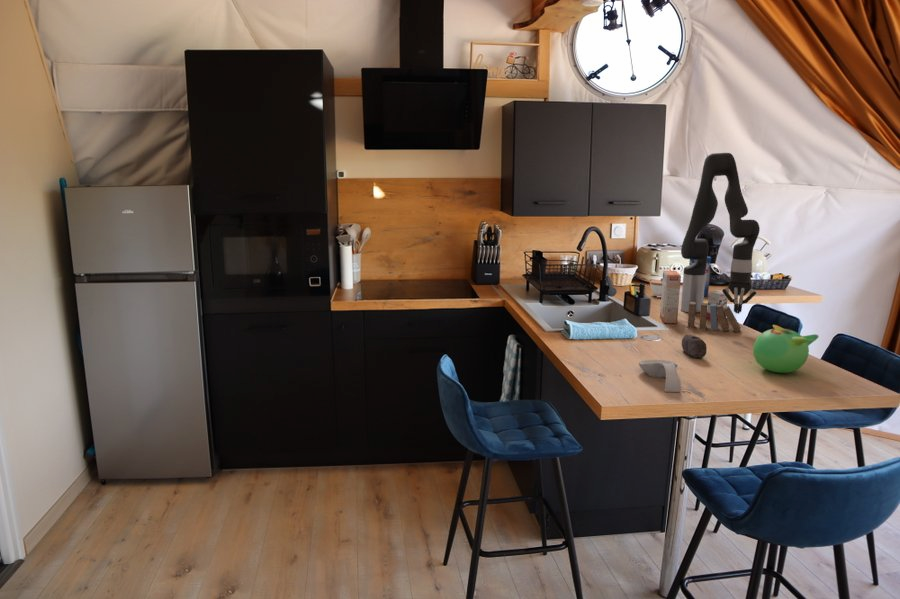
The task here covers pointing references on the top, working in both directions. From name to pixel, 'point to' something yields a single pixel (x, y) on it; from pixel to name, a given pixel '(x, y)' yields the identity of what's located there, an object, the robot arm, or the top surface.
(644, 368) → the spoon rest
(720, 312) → the domino
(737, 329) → the domino
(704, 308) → the domino
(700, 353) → the perforated stone tool
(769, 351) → the toy bird
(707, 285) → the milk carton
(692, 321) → the domino
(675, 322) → the cracker box
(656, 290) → the lidded jar
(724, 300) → the ink box
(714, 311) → the domino
